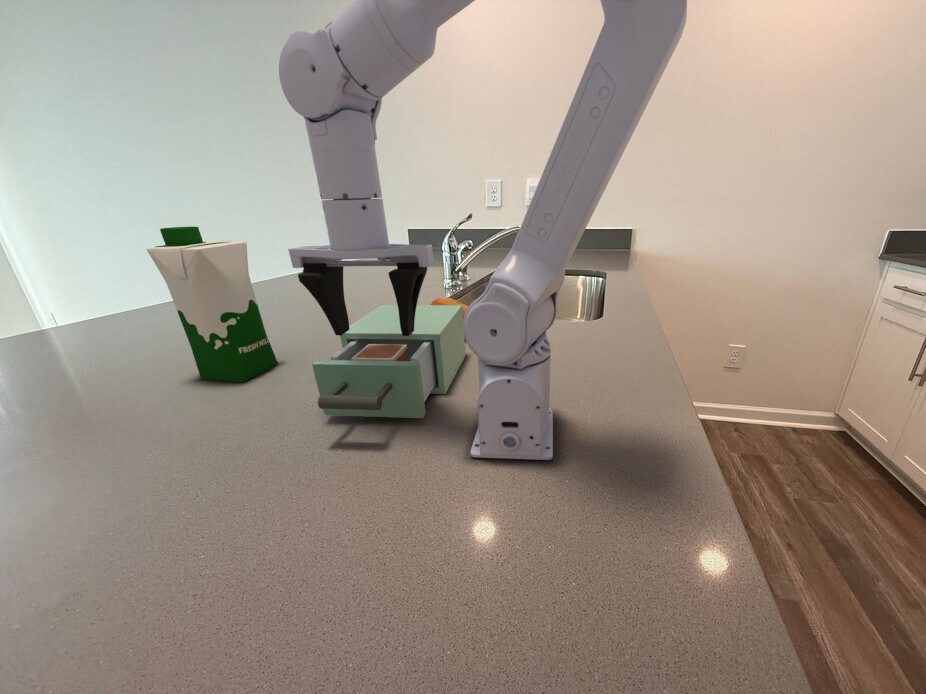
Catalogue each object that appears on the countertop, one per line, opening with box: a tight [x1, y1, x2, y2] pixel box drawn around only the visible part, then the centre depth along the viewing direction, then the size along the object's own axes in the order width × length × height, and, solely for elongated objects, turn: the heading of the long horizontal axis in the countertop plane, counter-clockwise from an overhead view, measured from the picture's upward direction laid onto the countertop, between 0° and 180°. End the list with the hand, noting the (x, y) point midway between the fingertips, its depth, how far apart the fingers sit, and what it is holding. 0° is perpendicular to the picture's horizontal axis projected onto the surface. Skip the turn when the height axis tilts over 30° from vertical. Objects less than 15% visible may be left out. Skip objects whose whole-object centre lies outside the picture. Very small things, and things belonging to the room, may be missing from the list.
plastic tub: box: [351, 344, 407, 361], centre depth 48 cm, size 5×5×5 cm
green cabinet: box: [339, 304, 467, 395], centre depth 57 cm, size 14×13×8 cm
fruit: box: [430, 296, 469, 319], centre depth 72 cm, size 8×8×8 cm
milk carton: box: [146, 226, 279, 383], centre depth 56 cm, size 9×9×20 cm
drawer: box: [311, 339, 438, 419], centre depth 48 cm, size 17×11×6 cm, turn 175°
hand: (375, 332), depth 45 cm, fingers open, 7 cm apart
